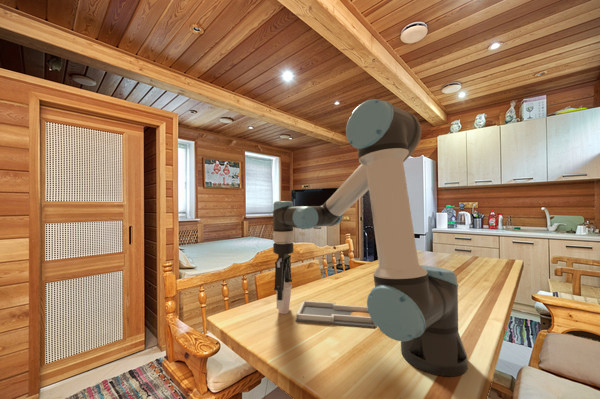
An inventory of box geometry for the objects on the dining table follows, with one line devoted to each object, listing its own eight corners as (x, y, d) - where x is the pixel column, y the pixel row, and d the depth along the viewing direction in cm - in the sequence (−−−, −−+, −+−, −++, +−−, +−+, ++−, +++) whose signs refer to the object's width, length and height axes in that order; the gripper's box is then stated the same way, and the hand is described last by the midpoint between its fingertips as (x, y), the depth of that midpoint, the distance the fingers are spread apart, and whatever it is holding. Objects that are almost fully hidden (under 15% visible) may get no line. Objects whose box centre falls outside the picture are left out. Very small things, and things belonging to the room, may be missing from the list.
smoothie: (293, 308, 96) (293, 271, 96) (291, 315, 89) (290, 276, 90) (276, 307, 96) (276, 271, 97) (273, 315, 90) (273, 276, 90)
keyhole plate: (375, 327, 80) (374, 321, 80) (295, 321, 85) (295, 315, 85) (371, 310, 93) (371, 304, 93) (302, 305, 98) (302, 300, 98)
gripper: (281, 238, 104) (281, 293, 104) (264, 246, 84) (264, 315, 83) (298, 238, 103) (299, 294, 102) (286, 247, 82) (286, 316, 82)
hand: (283, 303), depth 93 cm, fingers open, 8 cm apart
